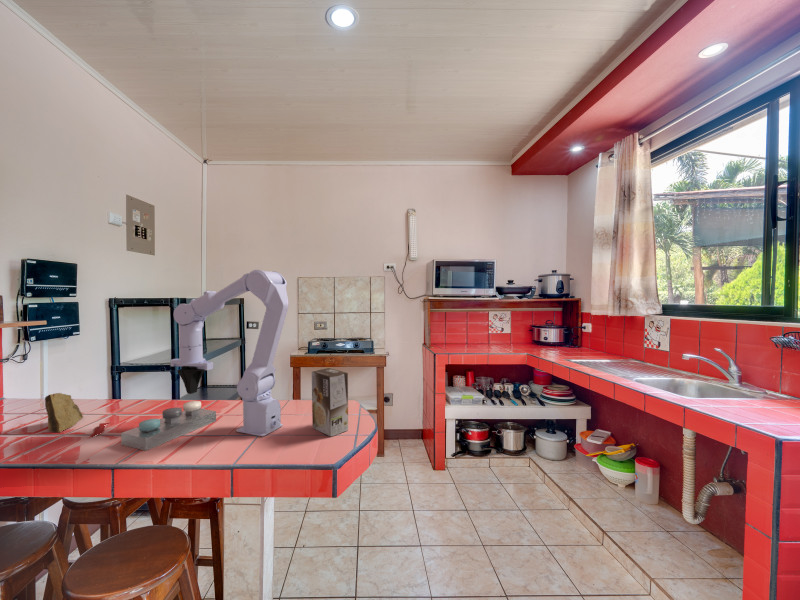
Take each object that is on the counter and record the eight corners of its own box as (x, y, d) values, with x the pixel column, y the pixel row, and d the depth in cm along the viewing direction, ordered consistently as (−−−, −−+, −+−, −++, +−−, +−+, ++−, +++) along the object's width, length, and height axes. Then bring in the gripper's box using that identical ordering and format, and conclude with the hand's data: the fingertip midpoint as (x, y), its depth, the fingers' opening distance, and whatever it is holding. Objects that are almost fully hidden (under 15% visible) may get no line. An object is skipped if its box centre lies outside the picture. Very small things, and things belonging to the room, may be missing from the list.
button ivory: (204, 414, 102) (204, 402, 102) (191, 419, 98) (190, 406, 98) (193, 412, 103) (193, 400, 103) (179, 417, 99) (179, 404, 99)
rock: (72, 408, 107) (31, 415, 97) (87, 387, 106) (47, 392, 97) (90, 434, 104) (49, 443, 94) (106, 412, 103) (66, 419, 94)
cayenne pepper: (107, 424, 102) (106, 417, 102) (123, 423, 102) (123, 416, 102) (71, 442, 90) (71, 434, 90) (90, 441, 90) (90, 434, 90)
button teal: (164, 434, 91) (164, 419, 90) (146, 440, 86) (146, 426, 86) (152, 431, 92) (152, 417, 92) (135, 438, 88) (134, 423, 88)
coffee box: (349, 430, 96) (349, 372, 96) (330, 437, 92) (330, 376, 91) (329, 421, 102) (329, 367, 102) (310, 428, 98) (310, 371, 97)
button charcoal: (185, 421, 96) (185, 408, 96) (170, 427, 92) (170, 414, 92) (174, 419, 98) (174, 406, 98) (158, 425, 94) (158, 411, 93)
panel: (216, 421, 103) (215, 411, 103) (145, 450, 84) (145, 438, 84) (194, 417, 106) (193, 407, 106) (121, 444, 87) (121, 432, 87)
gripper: (221, 345, 101) (222, 391, 101) (185, 342, 106) (186, 386, 107) (200, 349, 94) (201, 398, 95) (163, 345, 100) (164, 392, 100)
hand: (192, 392), depth 100 cm, fingers closed
